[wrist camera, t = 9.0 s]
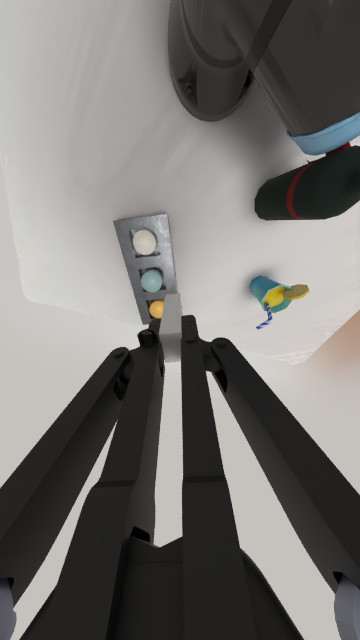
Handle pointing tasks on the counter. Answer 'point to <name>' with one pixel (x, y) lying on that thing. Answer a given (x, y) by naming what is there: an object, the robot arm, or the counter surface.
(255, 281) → the cup
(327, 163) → the wine bottle
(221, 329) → the counter surface
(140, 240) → the button ivory
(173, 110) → the counter surface
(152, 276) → the button teal
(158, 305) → the button amber
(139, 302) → the console
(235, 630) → the robot arm
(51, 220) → the counter surface
